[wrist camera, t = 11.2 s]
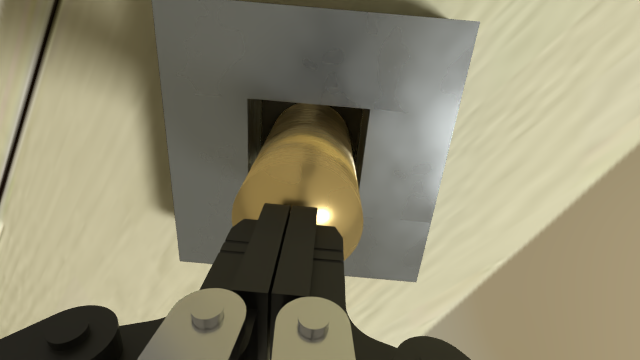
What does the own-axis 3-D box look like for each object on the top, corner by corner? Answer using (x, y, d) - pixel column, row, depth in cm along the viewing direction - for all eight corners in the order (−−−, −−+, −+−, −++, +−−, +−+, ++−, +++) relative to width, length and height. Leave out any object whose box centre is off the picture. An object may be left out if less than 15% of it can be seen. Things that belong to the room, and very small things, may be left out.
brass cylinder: (270, 99, 17) (227, 158, 10) (352, 103, 17) (370, 166, 10) (271, 174, 19) (235, 272, 11) (346, 178, 19) (357, 278, 11)
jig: (183, -2, 15) (150, -7, 13) (454, 22, 15) (479, 21, 13) (200, 229, 20) (179, 261, 18) (405, 247, 20) (416, 282, 17)
